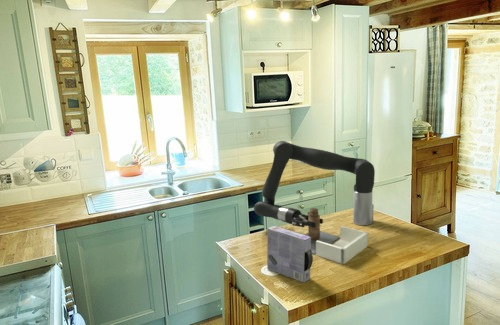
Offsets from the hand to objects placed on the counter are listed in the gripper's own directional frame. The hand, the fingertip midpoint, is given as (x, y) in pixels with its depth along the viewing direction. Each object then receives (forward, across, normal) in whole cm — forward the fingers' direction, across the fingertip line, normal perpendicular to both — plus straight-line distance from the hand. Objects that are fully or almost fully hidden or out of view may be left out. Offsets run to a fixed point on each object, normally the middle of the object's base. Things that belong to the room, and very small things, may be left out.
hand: (318, 223), depth 169 cm
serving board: (-2, 0, +10) cm, 11 cm away
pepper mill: (-3, 0, +8) cm, 8 cm away
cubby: (+12, 0, +10) cm, 15 cm away
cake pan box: (+6, -30, +10) cm, 32 cm away
